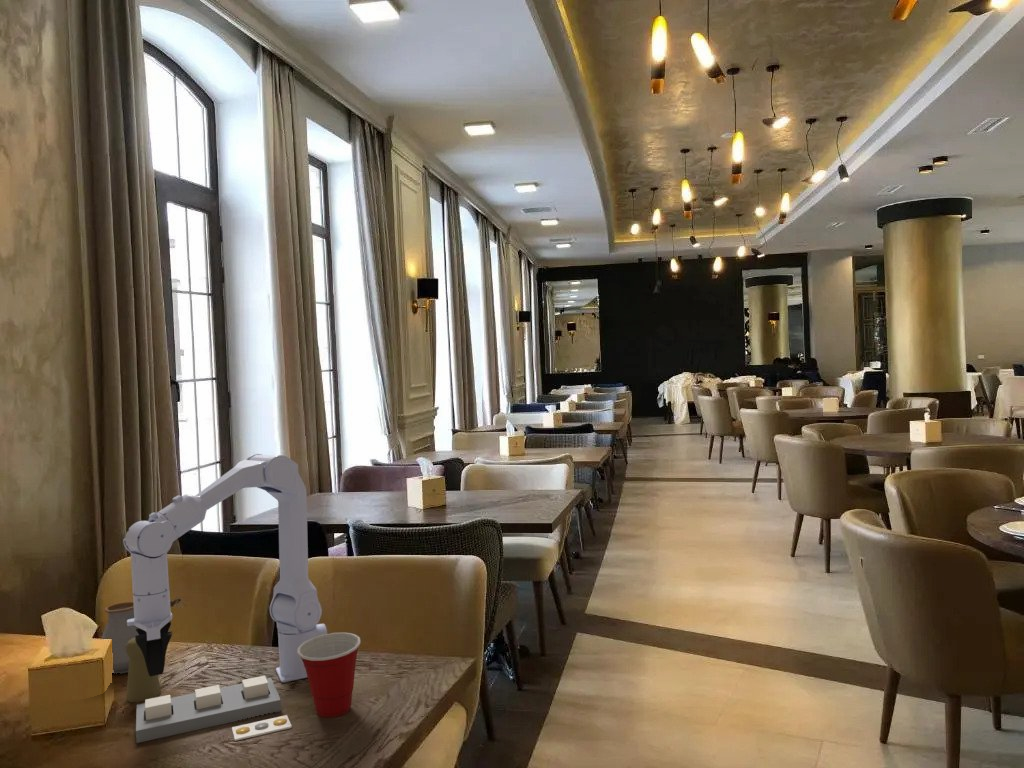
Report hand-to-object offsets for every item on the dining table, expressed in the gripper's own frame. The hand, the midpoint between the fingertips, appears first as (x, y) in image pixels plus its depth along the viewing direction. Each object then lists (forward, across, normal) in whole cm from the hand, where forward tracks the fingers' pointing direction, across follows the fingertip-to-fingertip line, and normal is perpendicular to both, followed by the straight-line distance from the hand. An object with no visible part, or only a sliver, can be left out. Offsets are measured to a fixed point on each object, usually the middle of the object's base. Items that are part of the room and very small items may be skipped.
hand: (156, 669), depth 136 cm
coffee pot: (+10, -32, -2) cm, 34 cm away
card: (+9, +12, +16) cm, 21 cm away
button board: (+9, 0, +8) cm, 12 cm away
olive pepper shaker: (+10, -16, -2) cm, 19 cm away
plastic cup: (+10, +11, +28) cm, 31 cm away
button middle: (+8, 0, +8) cm, 11 cm away
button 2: (+8, 0, +16) cm, 18 cm away
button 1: (+8, 0, 0) cm, 8 cm away
